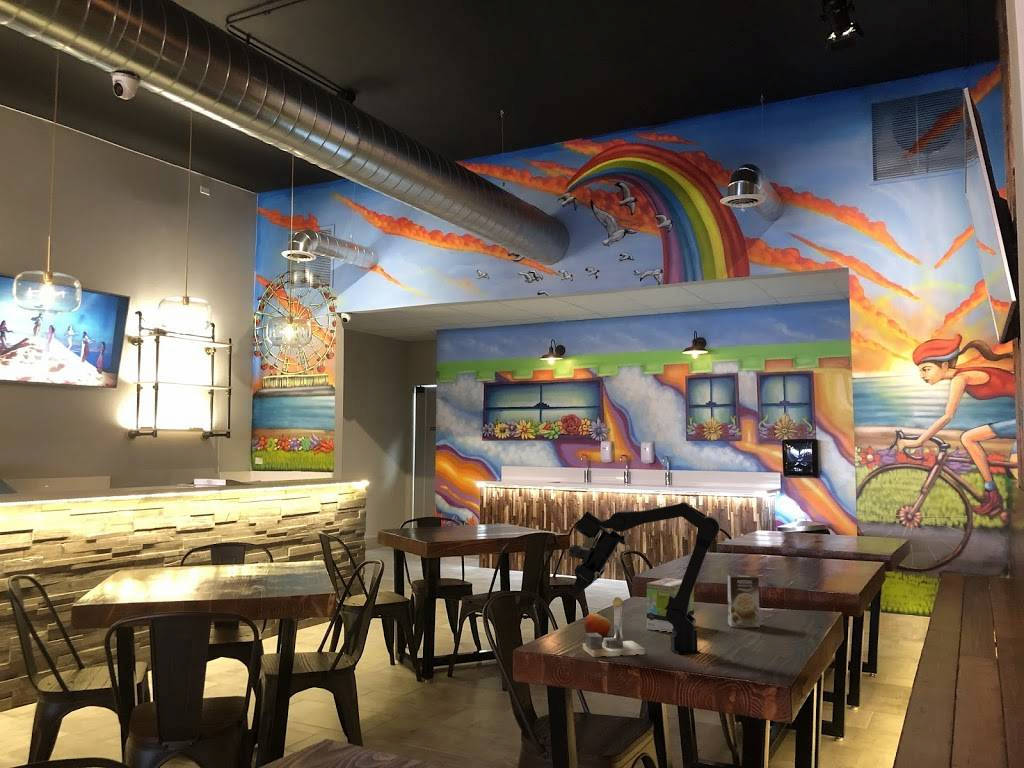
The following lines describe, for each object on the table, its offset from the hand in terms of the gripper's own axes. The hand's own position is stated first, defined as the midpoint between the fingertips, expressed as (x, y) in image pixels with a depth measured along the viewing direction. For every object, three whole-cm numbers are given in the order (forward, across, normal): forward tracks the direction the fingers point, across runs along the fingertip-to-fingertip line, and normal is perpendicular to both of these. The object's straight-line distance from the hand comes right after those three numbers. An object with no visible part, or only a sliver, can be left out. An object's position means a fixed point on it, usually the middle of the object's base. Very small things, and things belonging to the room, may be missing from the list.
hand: (575, 593), depth 241 cm
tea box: (0, -32, +29) cm, 43 cm away
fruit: (+11, -12, +12) cm, 20 cm away
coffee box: (-12, -40, +48) cm, 64 cm away
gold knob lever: (+5, +5, +17) cm, 19 cm away
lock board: (+6, +5, +18) cm, 20 cm away
